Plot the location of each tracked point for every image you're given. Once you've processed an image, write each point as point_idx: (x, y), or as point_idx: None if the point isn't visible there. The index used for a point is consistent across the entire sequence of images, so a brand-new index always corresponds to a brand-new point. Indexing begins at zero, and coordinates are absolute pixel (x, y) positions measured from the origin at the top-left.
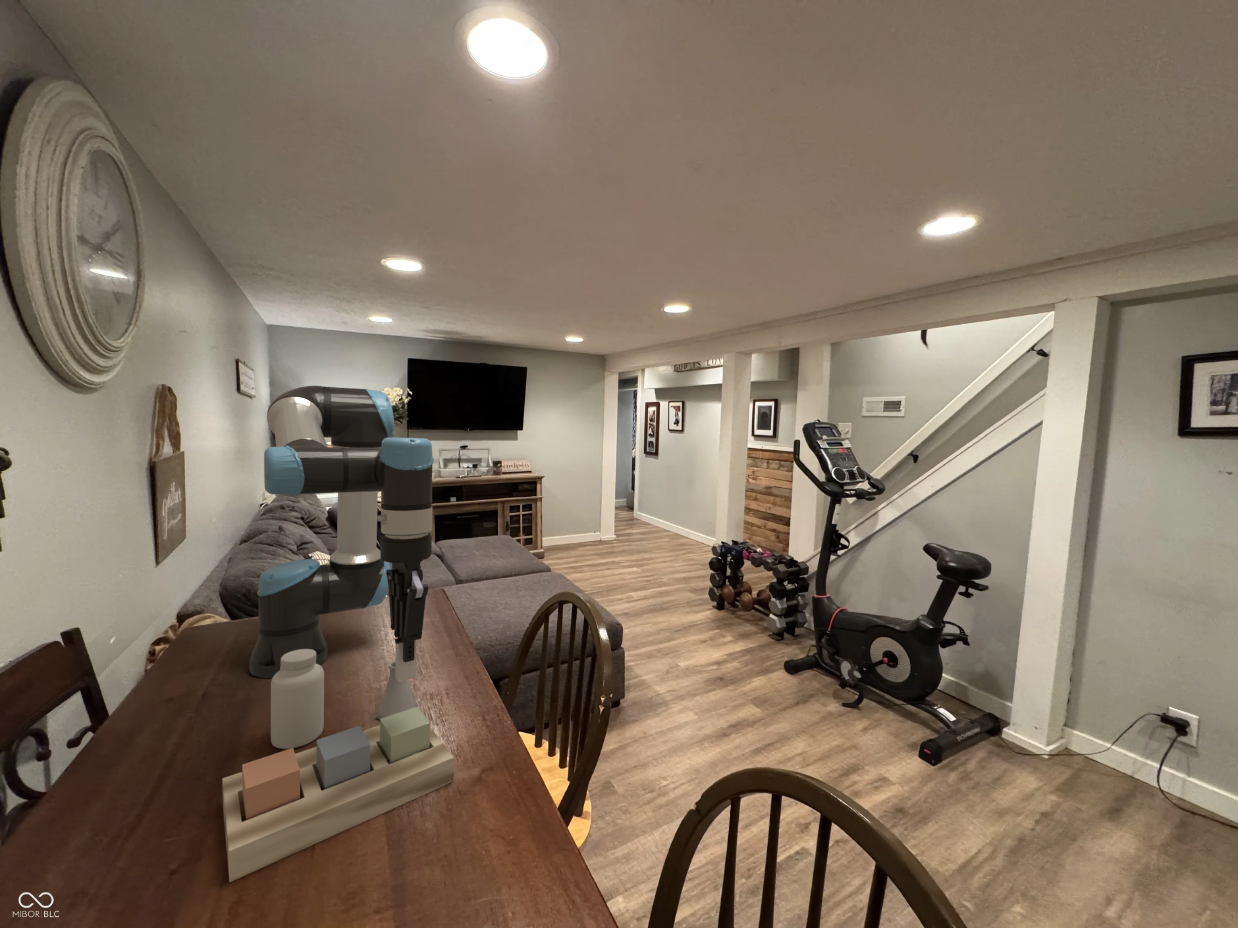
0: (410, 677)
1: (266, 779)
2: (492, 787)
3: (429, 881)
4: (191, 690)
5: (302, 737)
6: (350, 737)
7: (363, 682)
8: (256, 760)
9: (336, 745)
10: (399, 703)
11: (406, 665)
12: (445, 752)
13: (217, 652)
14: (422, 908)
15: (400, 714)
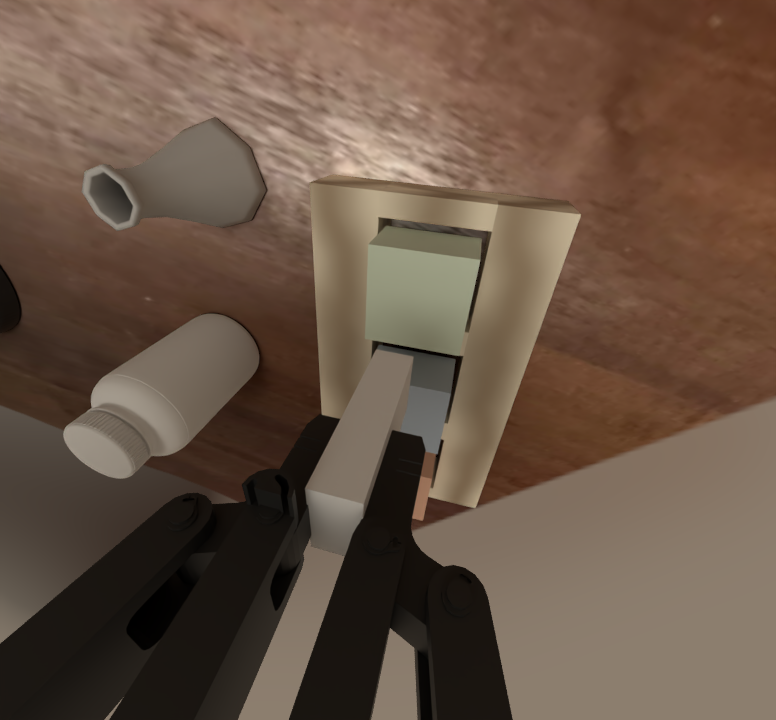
0: (410, 376)
1: (421, 504)
2: (689, 131)
3: (737, 361)
4: (48, 392)
5: (252, 361)
6: None
7: (57, 182)
8: None
9: (404, 427)
10: (228, 193)
11: (396, 425)
12: (540, 221)
13: None
14: (765, 389)
15: (378, 296)
